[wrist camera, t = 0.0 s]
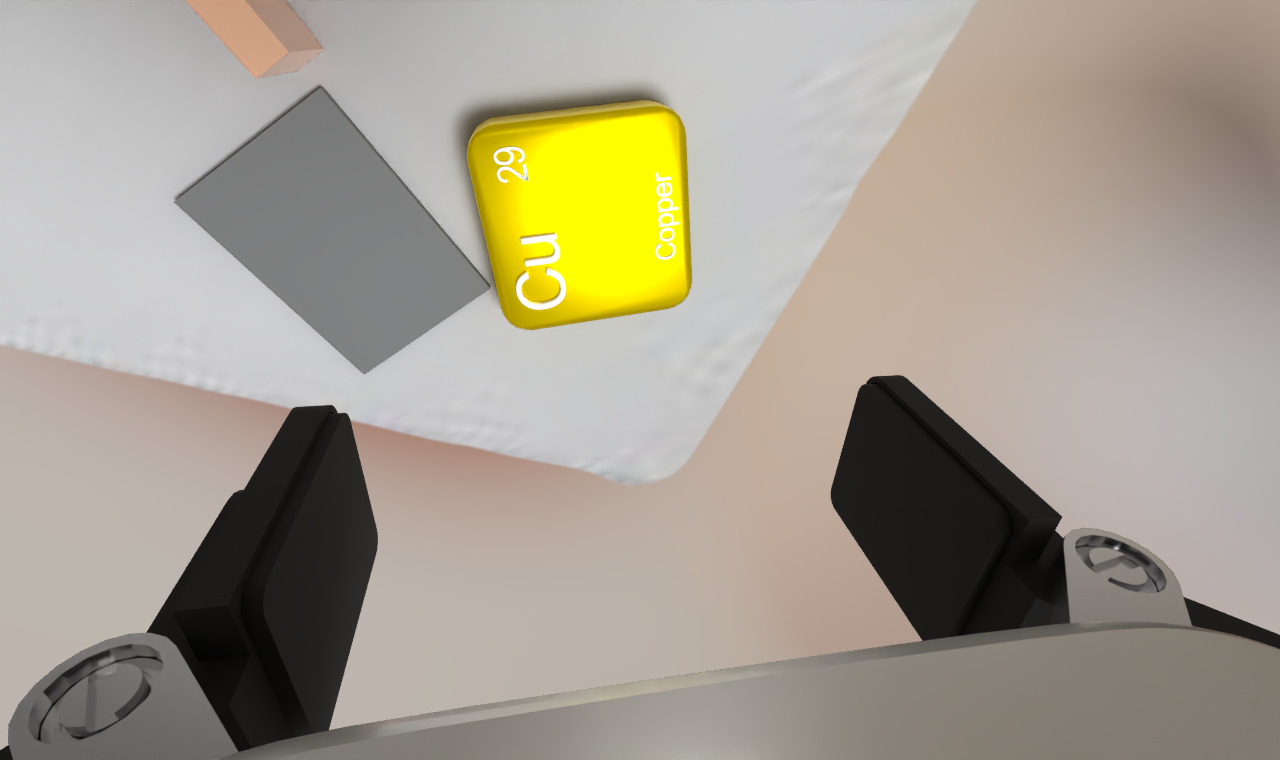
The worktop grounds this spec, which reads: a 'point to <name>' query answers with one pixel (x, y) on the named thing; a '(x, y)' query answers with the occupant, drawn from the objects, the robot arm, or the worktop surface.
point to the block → (260, 34)
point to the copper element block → (584, 211)
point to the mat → (335, 234)
